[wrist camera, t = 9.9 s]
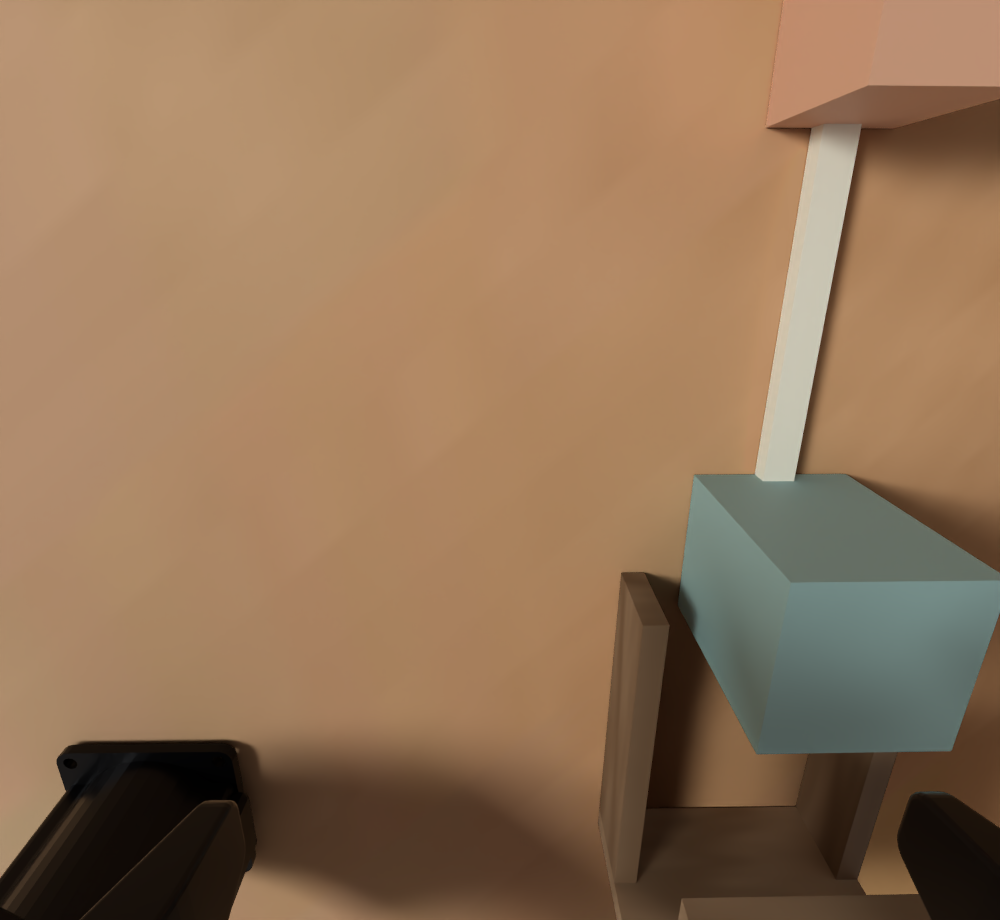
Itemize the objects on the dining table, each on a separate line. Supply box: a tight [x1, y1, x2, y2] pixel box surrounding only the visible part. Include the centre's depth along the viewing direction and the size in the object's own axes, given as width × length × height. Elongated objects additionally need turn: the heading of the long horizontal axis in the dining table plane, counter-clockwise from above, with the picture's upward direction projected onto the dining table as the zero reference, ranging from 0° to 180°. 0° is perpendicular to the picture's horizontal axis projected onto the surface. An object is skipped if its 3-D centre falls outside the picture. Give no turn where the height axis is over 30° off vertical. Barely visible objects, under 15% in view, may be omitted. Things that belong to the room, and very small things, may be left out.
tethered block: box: [678, 0, 1000, 754], centre depth 15 cm, size 5×18×6 cm, turn 0°
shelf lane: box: [598, 573, 931, 920], centre depth 18 cm, size 9×12×9 cm
